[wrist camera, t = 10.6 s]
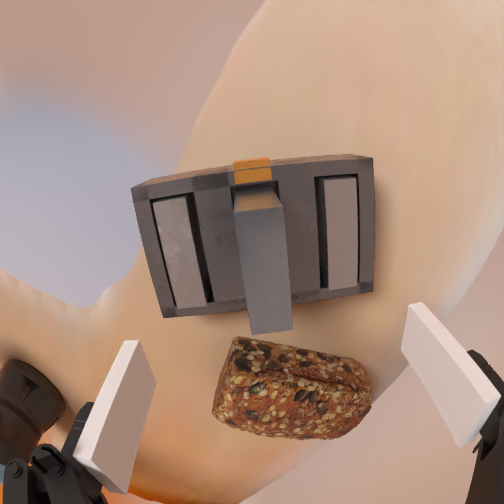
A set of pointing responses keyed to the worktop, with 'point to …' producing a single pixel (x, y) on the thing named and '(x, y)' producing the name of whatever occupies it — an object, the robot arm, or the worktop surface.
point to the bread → (290, 391)
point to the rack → (225, 239)
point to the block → (263, 258)
